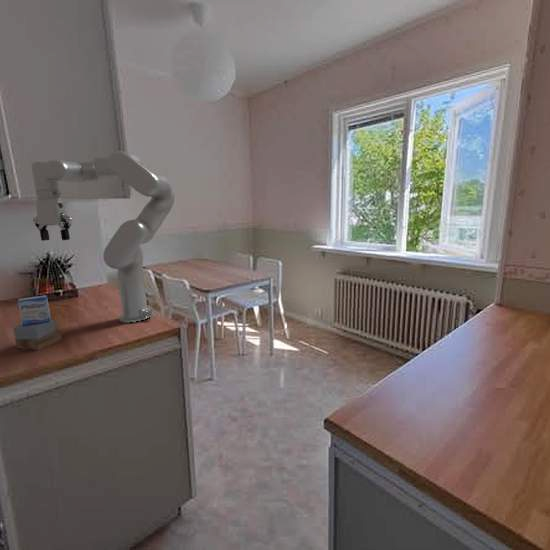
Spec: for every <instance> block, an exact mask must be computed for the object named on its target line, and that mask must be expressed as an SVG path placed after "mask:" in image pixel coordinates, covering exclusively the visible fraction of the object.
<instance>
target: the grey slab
mask: <svg viewBox="0 0 550 550" xmlns="http://www.w3.org/2000/svg"><path fill="white" fill-rule="evenodd" d="M56 330H57V328H56V323H55V319H53V318H52V319H50V322H44V323H39V324H33V325H27V326H22V323H21V324H18V325H17V326H14V327H13V331H14V337H15V338H16V339H40V338H42V337H44V336H46V335H48V334H50V333H52V332H54V331H56Z"/></svg>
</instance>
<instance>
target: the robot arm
mask: <svg viewBox="0 0 550 550" xmlns="http://www.w3.org/2000/svg"><path fill="white" fill-rule="evenodd" d="M31 171H32V176H33V183H34V189H35V195H36V203H35V204H36V206H35V207H36V216H35V217H34V218H33V219H32V221H33V224H35V227H36V228H37V230H38V231H39V234H40V240H41V241H49V240H50V233H49V230H48V227H49V226H58V227H59V228H60V236H61V237H60V238H61V241H69V240H70V239H71V238H70V232H69V230H70V229H71V228H70V227H71V226H72V221H73V218H72V217H71V216H70V215H68V213H67V209H66V206H65V203H64V201H63V198H61V192H60V189H59V184H58V183H59V182H58V181H60V182H71V183H83V182H97V181H104V180H106V181H107V180H115V179H117V180H118V179H120V180H122V181H123V182H124V183H126V184H127V185H128V186H129V187H131V188H132V189H133V190H135V191H136V192H137V193H139V194H141V195H142V196H145V197H151V198H150V200H149V201H148V202H147V203H146V204H145V206H144V207H143V208H142V210H141V212H140V213H139V214H138V216H137V217H136V218H135V219H129V220H127V221H125V222H123V223H122V224H120V226H119V227H118V229H117V230H116V232H115V233H114V235H113V236H112V237H111V239H110V240H109V242H108V244H107V245H106V247H105V248H104V251H103V261H104V264H105V265H106V266H107V267H108V268H110V269H113V270H117V283H118V290H119V297H120V305H121V313H122V314H121V315H120V316H119V317H118V321H119V322H121V323H124V324H127V323H129V324H131V323H130V322H133V323H137V322H136V321H139V322H142V321H141V320H144V321H146V320H145V319H147V318H149V317H150V318H151V316H152V317H153V316H154V315H155V313H156V310H155V309H150V305H147V304H148V303H147V297H146V296H147V295H146V294H147V293H146V288H145V278H144V267H143V266H144V265H143V264H144V252H143V249H142V247H141V245H143V244H144V245H145V244H147V243H149V242H150V241H151V240H152V239H153V238H154V236H155V234H156V233H157V231H158V230H159V228H161V225H162V224H163V223H164V220H165V219H166V217H167V216H168V215H169V214H170V212H171V210H172V208H173V206H174V203H175V199H176V198H175V189H174V187H173V184H172V183H171V182H170V180H169V179H168V178H167V177H166V176H164V175H161V174H159V173H155V172H151V171H150V170H148V169H147V168H146V167H144V163H143V161H142V159H141V158H140V157H139V155H136V154H134V153H131V152H127V151H124V150H123V151H122V150H117V151H114V152H113V153H111V154H109V155H97V156H95V157H94V159H93V160H90V161H81V162H80V161H78V162H73V161H68V160H63V159H52V160H48V161H44V160H42V161H33V162H32V163H31ZM150 318H149V319H150ZM147 320H148V319H147Z"/></svg>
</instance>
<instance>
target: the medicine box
mask: <svg viewBox="0 0 550 550" xmlns="http://www.w3.org/2000/svg"><path fill="white" fill-rule="evenodd" d="M17 304H18V309H19V314H20V322H21V324H22V326H27V325H33V324H39V323H44V322H50V319H51V318H52V316H51V312H50V306H49V301H48V296H47V294H43V295H39V296H38V295H37V296H30V297H22V298H18V300H17Z"/></svg>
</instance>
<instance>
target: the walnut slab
mask: <svg viewBox="0 0 550 550" xmlns="http://www.w3.org/2000/svg"><path fill="white" fill-rule="evenodd" d="M14 340H15V343H16V349H18V348H22V349H21V350H29V349H32V350H31V351H40V350H42V348H43V349H45V348H47V347H49V346H52V345H54V344H55V343H57V342H60V341H61V340H63V338H62V333H61V330H60V329H56V331H54V332H52V333H50V334H48V335H46V336H44V337H42V338H40V339H16V338H15V339H14ZM44 347H45V348H44Z"/></svg>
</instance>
